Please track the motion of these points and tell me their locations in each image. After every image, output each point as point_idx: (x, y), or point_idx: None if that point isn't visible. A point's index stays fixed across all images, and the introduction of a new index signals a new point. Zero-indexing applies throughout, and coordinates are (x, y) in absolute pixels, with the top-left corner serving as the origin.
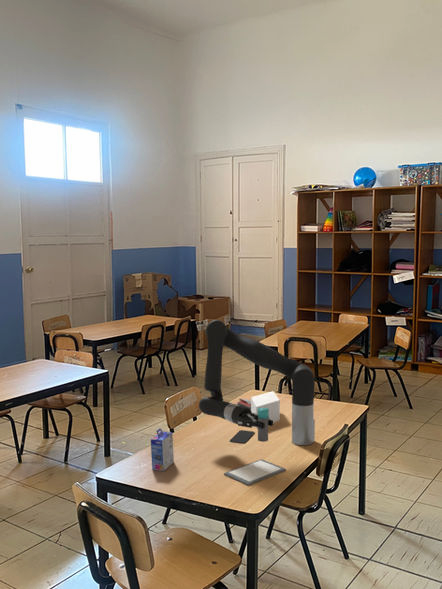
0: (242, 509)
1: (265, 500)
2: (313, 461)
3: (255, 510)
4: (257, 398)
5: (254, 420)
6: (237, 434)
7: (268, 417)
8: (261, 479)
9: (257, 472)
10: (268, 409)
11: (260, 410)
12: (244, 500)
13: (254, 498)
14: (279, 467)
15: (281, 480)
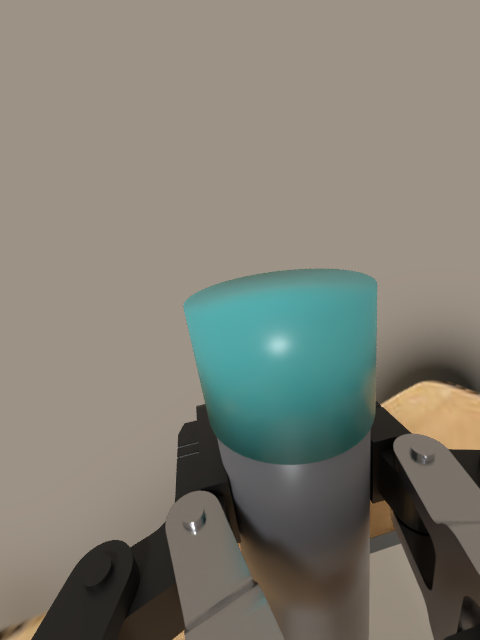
0: (468, 397)
1: (392, 413)
2: (6, 637)
3: (428, 387)
4: None
5: (435, 455)
6: None
7: (111, 554)
8: (379, 538)
9: (390, 622)
10: (211, 287)
11: (339, 272)
12: (465, 428)
13: (428, 429)
14: None
15: None
